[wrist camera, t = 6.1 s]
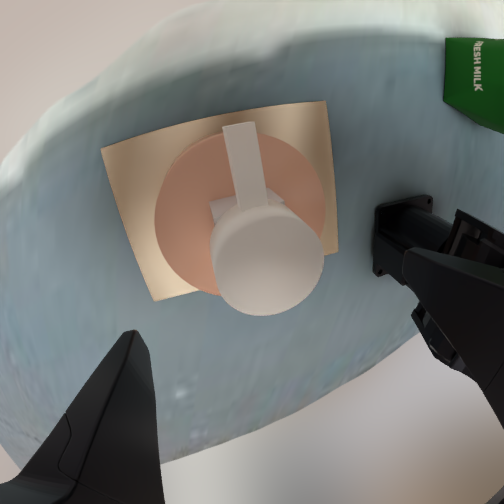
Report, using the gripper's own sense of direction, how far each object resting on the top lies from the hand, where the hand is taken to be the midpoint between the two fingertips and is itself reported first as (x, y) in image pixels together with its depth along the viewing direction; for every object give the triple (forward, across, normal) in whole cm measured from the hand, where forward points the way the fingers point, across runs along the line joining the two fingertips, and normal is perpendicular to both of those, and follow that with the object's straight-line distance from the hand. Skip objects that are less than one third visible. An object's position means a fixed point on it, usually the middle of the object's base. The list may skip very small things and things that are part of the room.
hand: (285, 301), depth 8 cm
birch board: (+11, 0, 0) cm, 11 cm away
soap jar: (+11, 0, 0) cm, 11 cm away
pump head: (+7, 0, -1) cm, 7 cm away
